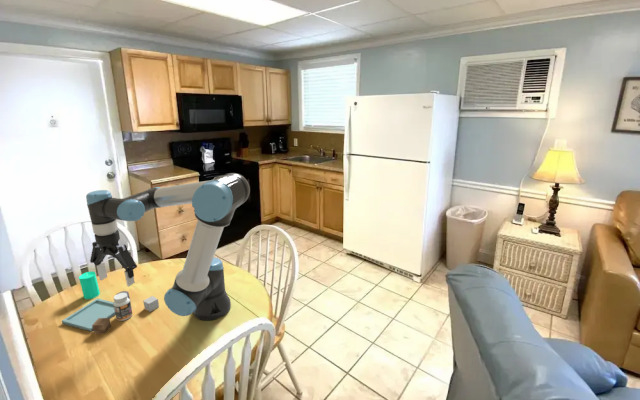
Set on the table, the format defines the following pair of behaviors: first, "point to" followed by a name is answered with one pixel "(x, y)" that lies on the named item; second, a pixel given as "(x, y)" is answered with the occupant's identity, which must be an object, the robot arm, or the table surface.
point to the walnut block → (101, 325)
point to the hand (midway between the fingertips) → (117, 281)
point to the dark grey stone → (125, 292)
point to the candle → (89, 285)
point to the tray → (90, 314)
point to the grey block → (151, 303)
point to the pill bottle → (122, 307)
